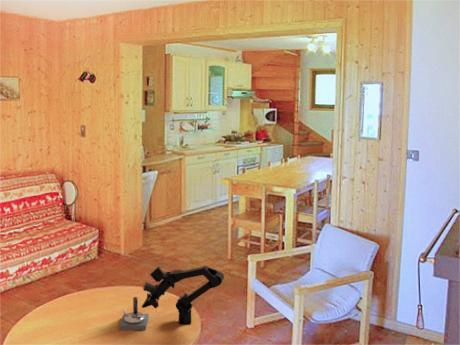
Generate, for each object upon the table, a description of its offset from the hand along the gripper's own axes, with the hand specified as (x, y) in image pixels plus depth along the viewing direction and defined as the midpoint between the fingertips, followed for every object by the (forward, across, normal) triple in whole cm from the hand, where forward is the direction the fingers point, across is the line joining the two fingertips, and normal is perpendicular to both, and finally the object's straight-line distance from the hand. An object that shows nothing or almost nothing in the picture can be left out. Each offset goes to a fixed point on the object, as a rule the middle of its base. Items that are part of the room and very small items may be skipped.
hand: (142, 307), depth 279 cm
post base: (+8, +4, +2) cm, 10 cm away
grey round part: (+6, +3, +1) cm, 7 cm away
